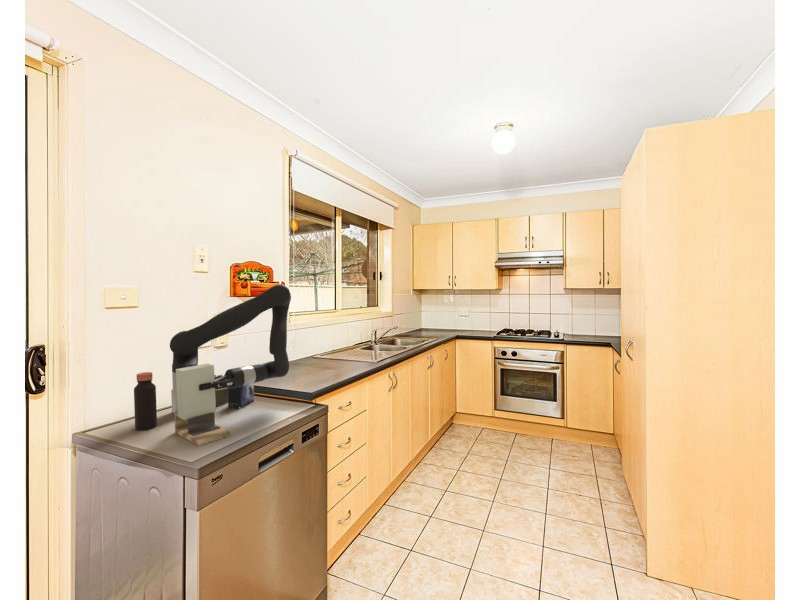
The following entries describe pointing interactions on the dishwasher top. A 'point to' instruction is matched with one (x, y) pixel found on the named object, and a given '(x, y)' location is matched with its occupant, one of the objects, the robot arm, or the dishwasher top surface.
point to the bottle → (145, 402)
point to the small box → (240, 396)
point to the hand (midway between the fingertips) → (196, 386)
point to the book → (195, 391)
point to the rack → (200, 429)
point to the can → (221, 396)
